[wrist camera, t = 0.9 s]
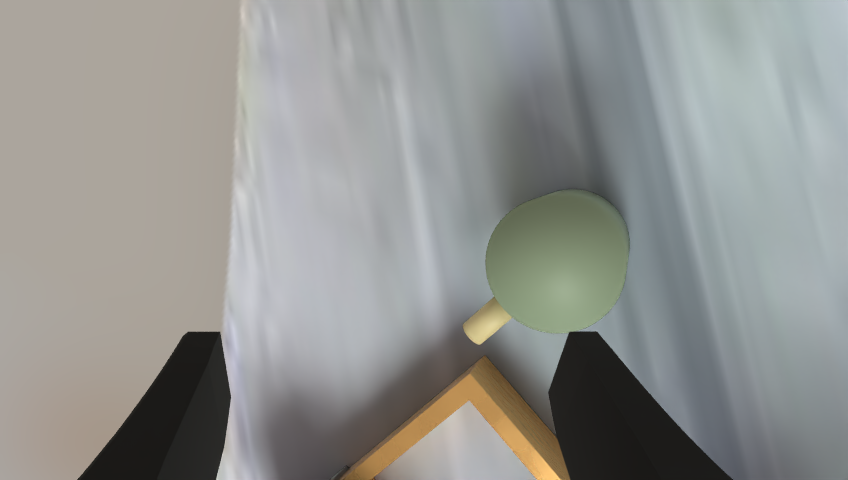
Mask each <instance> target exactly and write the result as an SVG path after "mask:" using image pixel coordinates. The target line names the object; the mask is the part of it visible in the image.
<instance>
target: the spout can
mask: <svg viewBox="0 0 848 480" xmlns="http://www.w3.org/2000/svg"><path fill="white" fill-rule="evenodd" d="M629 249H630V240H629V233H628V230H627V226H626V224H625V222H624V220H623V218H622V216H621V215H620V213H619V212H618V211H617V209H616V208H615V207H614V206H613V205H612V204H611V203H610V202H608V201H607V200H605V199H604V198H603V197H601V196H599V195H597V194H594V193H592V192H589V191H585V190H578V189H566V190H560V191H556V192H553V193H550V194H547V195H544V196H541V197H538V198H535V199H533V200H530V201H527V202H525V203H523V204H521V205H519V206H517V207H516V208H514V209H513V210H512V211H510V212H509V213H508V214H507V215H506V216H505V217H504V218H503V219H502V220H501V221H500V222H499V224H498V225H497V226H496V228H495V230H494V232H493V233H492V235H491V238H490V240H489V243H488V247H487V251H486V274H487V279H488V282H489V286H490V288H491V290H492V293H493V295H494V297H493V298H492V299H491V300H490V301H489V302H488V303H486V304H485V305H484V306H483V307H482V308H481V309H480V310H478V311H477V312H476V313H475V314H474V315H473V316H472V317H470V318H469V319H468V320H467V321H466V322H465V323H464V324H463V329H464V331H465V333H466V335H467V336H468V337H469V338H470V339H471V340H472V341H473V342H474V343H476V344H478V345H480V344H482V343H483V342H484V341H485V340H487V339H488V338H489V337H490V336H491V335H492V334H494V333H495V332H496V331H497V330H498V329H499V328H501V327H502V326H503V325H504V324H505V323H507V322H508V321H509V320H510V319H511V318H512V317H513V318H514V319H515V320H516V321H518V322H520V323H521V324H523V325H525V326H527V327H529V328H532V329H535V330H538V331H541V332H547V333H569V332H574V331H578V330H581V329H584V328H587V327H589V326H590V325H592V324H594V323H596V322H597V321H599V320H600V319H602V318H603V317H604V316H605V315H606V314H607V313H608V312H609V311H610V310H611V308H612V307H613V306H614V305H615V303H616V301H617V300H618V298H619V296H620V294H621V291H622V289H623V286H624V282H625V277H626V270H627V263H628V256H629Z"/></svg>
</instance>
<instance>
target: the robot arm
mask: <svg viewBox="0 0 848 480" xmlns="http://www.w3.org/2000/svg"><path fill="white" fill-rule="evenodd" d="M548 393H549V399H550V405H551V410H552V416H553V421H554V425H555V430H556V435H557V439H558V442H559V446H560V449H561V452H562V455H563V458H564V461H565V465H566V468H567V471H568V474H569V477H570V480H733V479H732V478H731V477H729V476H728V475H727V474H726V473H725V472H724V471H723V470H722V469H721V468H720V467H719V466H718V465H717V464H715V463H714V462H713V461H712V460H711V459H710V458H709V457H708V456H707V455H706V454H705V453H704V452H703V451H702V450H701V449H700V448H699V447H698V446H697V445H696V444H695V443H694V442H693V441H692V440H691V439H690V438H689V437H688V435H687V434H686V433H685V432H684V431H683V430H682V429H681V428H680V427H679V426H678V425H677V424H676V423H675V422H674V421H673V419H672V418H671V417H670V416H669V415H668V414H667V413H666V412H665V411H664V409H663V408H662V407H661V406H660V405H659V404H658V403H657V402H656V401H655V399H654V398H653V397H652V396H651V395H650V394H649V393H648V391H647V390H646V389H645V388H644V387H643V386H642V384H641V383H640V382H639V381H638V380H637V379H636V377H635V376H634V375H633V374H632V373H631V372H630V370H629V369H628V368H627V367H626V366H625V364H624V363H623V362H622V361H621V360H620V358H619V357H618V356H617V355H616V354H615V352H614V351H613V350H612V349H611V348H610V346H609V345H608V344H607V343H606V342H605V341H604V339H603V338H602V337H601V336H600V335H599V333H598V332H569V334H568V337H567V340H566V343H565V346H564V349H563V352H562V354H561V357H560V360H559V363H558V366H557V369H556V372H555V375H554V378H553V380H552V383H551V386H550V389H549V392H548ZM230 400H231V394H230V388H229V382H228V376H227V370H226V364H225V358H224V352H223V346H222V340H221V334H220V332H187V333H186V334H185V335H184V336H183V337H182V339H181V340H180V342H179V344H178V345H177V347H176V348H175V350H174V352H173V353H172V355H171V356H170V358H169V359H168V361H167V362H166V364H165V366H164V367H163V369H162V370H161V372H160V373H159V375H158V376H157V378H156V379H155V380H154V382H153V383H152V385H151V386H150V388H149V389H148V390H147V392H146V393H145V395H144V396H143V397H142V399H141V400H140V402H139V403H138V404H137V406H136V407H135V408H134V410H133V411H132V413H131V414H130V415H129V417H128V418H127V419H126V420H125V422H124V423H123V425H122V426H121V427H120V428H119V430H118V431H117V432H116V434H115V435H114V436H113V437H112V438H111V440H110V441H109V442H108V443H107V445H106V446H105V447H104V448H103V450H102V451H101V452H100V453H99V455H98V456H97V457H96V458H95V459H94V461H93V462H92V463H91V464H90V466H89V467H88V468H87V469H86V470H85V471H84V473H83V474H82V475H81V476H80V477H79V478H78V479H77V480H216V477H217V473H218V469H219V465H220V461H221V457H222V453H223V449H224V444H225V437H226V430H227V423H228V415H229V408H230Z"/></svg>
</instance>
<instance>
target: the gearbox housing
mask: <svg viewBox="0 0 848 480" xmlns="http://www.w3.org/2000/svg"><path fill="white" fill-rule="evenodd" d="M468 400H470V401H471V403H472V404H473V405H474V406H475V407H476V408H477V410H478V411H479V412H480V413H481V414H482V416H483V417H484V418H485V419H486V420H487V421H488V423H489V424H490V425H491V426H492V427H493V428H494V430H495V431H496V432H497V433H498V434H499V436H500V437H501V438H502V439H503V440H504V441H505V443H506V444H507V445H508V446H509V447H510V448H511V450H512V451H513V452H514V453H515V454H516V455H517V457H518V458H519V459H520V460H521V461H522V463H523V464H524V465H525V466H526V467H527V468H528V470H529V471H530V472H531V473H532V474H533V475H534V477H535V478H536V479H537V480H570V477H569V474H568V471H567V468H566V465H565V461H564V458H563V455H562V452H561V449H560V446H559V442H558V439H557V438H556V436H555V435H554V434H553V433H552V432H551V431H550V430H549V428H548V427H547V426H546V425H545V424H544V423H543V421H542V420H541V419H540V418H539V417H538V416H537V415H536V413H535V412H534V411H533V410H532V409H531V408H530V406H529V405H528V404H527V403H526V402H525V401H524V400H523V398H522V397H521V396H520V395H519V394H518V393H517V391H516V390H515V389H514V388H513V387H512V386H511V385H510V383H509V382H508V381H507V380H506V379H505V378H504V376H503V375H502V374H501V373H500V372H499V371H498V370H497V368H496V367H495V366H494V365H493V364H492V363H491V362H490V360H489V359H488V358H487V357H486V356H485V355H484V356H483V357H482V358H481V359H480V360H478V361H477V362H476V363H475V364H474V365H472V366H471V367H470V368H469V369H468V370H466V371H465V372H464V373H463V374H462V375H460V376H459V377H458V378H457V379H456V380H454V381H453V382H452V383H451V384H450V385H448V386H447V387H446V388H445V389H444V390H443V391H441V392H440V393H439V394H438V395H437V396H435V397H434V398H433V399H432V400H431V401H429V402H428V403H427V404H426V405H425V406H423V407H422V408H421V409H420V410H419V411H417V412H416V413H415V414H414V415H413V416H411V417H410V418H409V419H408V420H407V421H405V422H404V423H403V424H402V425H401V426H399V427H398V428H397V429H396V430H395V431H393V432H392V433H391V434H390V435H389V436H387V437H386V438H385V439H384V440H383V441H381V442H380V443H379V444H378V445H377V446H376V447H374V448H373V449H372V450H371V451H370V452H368V453H367V454H366V455H365V456H364V457H362V458H361V459H360V460H359V461H358V462H356V463H355V464H354V465H353V466H352V467H350V468H348V467H347V465H346V466H345V467H344V468H343V469H342V470H341V471H339V472H338V473H337V474H336V475H335V476H333V477H332V478H331V479H330V480H375V479H374V477H375V476H376V475H377V474H378V473H380V472H381V471H382V470H383V469H385V468H386V467H387V466H388V465H390V464H391V463H392V462H393V461H394V460H396V459H397V458H398V457H399V456H401V455H402V454H403V453H404V452H406V451H407V450H408V449H409V448H411V447H412V446H413V445H414V444H415V443H417V442H418V441H419V440H420V439H422V438H423V437H424V436H425V435H427V434H428V433H429V432H430V431H431V430H433V429H434V428H435V427H436V426H438V425H439V424H440V423H441V422H443V421H444V420H445V419H446V418H448V417H449V416H450V415H451V414H452V413H454V412H455V411H456V410H457V409H459V408H460V407H461V406H462V405H464V404H465V403H466V402H467V401H468Z"/></svg>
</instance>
